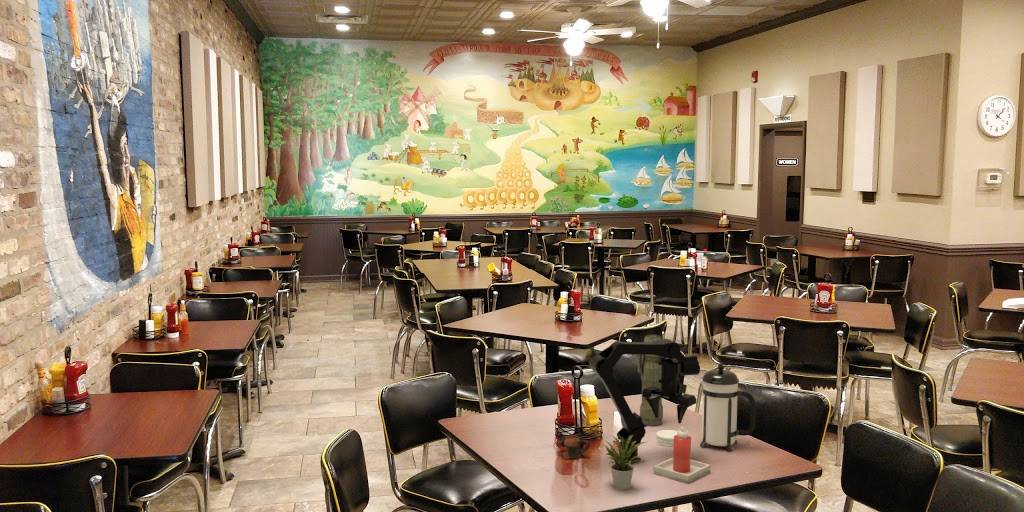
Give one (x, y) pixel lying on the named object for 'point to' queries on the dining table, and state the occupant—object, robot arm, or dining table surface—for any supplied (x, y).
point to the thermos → (650, 383)
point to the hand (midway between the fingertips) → (668, 420)
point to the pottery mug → (573, 446)
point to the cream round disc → (666, 437)
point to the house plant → (622, 463)
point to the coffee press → (722, 408)
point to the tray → (695, 472)
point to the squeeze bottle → (682, 451)
